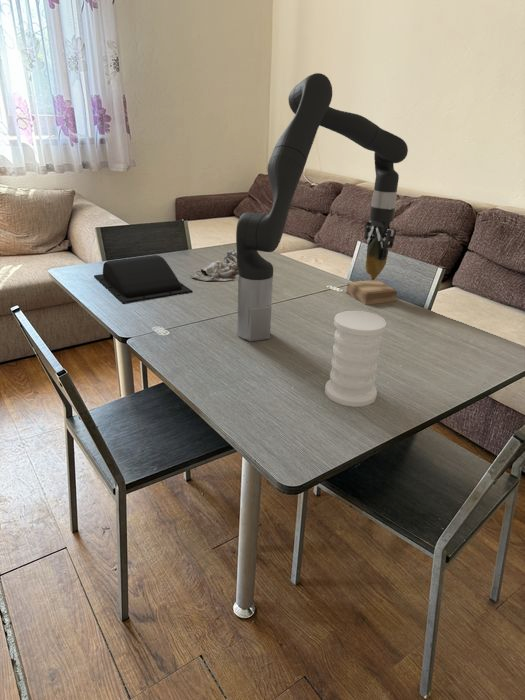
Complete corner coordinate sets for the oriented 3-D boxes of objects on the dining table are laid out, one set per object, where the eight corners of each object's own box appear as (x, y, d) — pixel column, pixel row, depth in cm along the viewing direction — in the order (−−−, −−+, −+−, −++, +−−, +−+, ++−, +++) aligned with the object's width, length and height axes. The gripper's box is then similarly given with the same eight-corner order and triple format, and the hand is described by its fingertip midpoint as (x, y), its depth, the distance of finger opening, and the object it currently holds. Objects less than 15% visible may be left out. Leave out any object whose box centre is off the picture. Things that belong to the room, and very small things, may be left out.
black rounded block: (94, 278, 183) (122, 305, 161) (91, 255, 179) (120, 279, 157) (157, 269, 195) (192, 294, 173) (156, 247, 191) (191, 269, 169)
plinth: (395, 301, 173) (397, 289, 171) (365, 304, 168) (366, 293, 167) (375, 289, 183) (376, 278, 181) (346, 292, 178) (347, 281, 177)
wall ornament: (275, 251, 192) (206, 252, 175) (274, 279, 195) (205, 282, 178) (246, 247, 207) (180, 248, 190) (246, 273, 210) (180, 276, 193)
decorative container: (374, 410, 110) (386, 334, 102) (320, 401, 112) (329, 326, 105) (377, 385, 120) (389, 314, 112) (329, 377, 123) (337, 307, 115)
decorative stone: (374, 275, 178) (380, 232, 171) (388, 280, 174) (395, 236, 167) (356, 280, 172) (362, 236, 166) (370, 285, 168) (377, 240, 162)
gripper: (360, 201, 167) (354, 252, 174) (386, 210, 155) (378, 263, 162) (380, 201, 169) (373, 250, 177) (406, 209, 158) (398, 262, 165)
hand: (375, 256), depth 169 cm, fingers closed on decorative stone, 6 cm apart
